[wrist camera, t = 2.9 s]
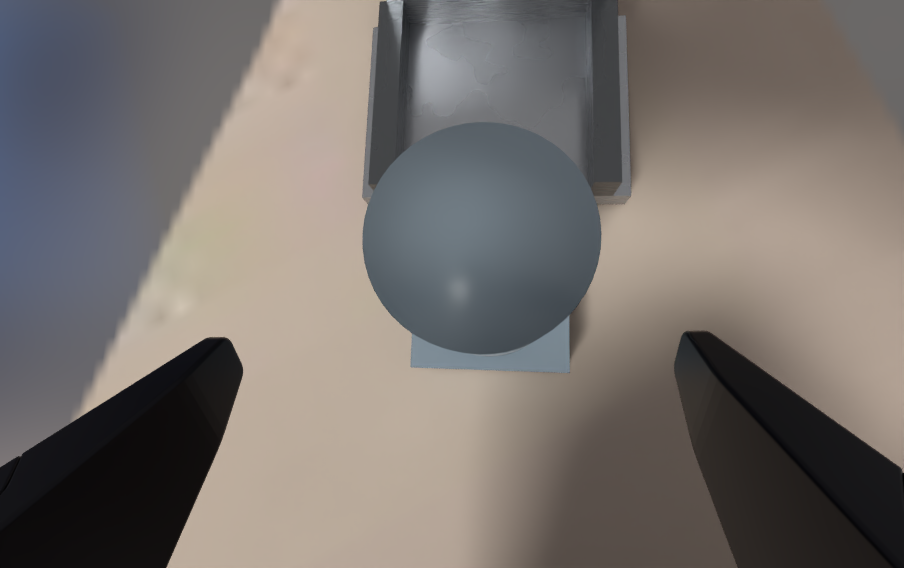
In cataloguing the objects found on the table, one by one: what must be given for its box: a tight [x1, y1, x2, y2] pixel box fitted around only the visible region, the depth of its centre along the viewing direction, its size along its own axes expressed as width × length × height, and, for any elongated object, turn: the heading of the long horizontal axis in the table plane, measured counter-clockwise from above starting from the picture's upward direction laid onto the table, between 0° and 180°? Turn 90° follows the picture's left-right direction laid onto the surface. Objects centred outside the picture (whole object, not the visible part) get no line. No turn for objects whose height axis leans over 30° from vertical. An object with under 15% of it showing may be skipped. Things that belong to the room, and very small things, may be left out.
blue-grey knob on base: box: [363, 122, 601, 373], centre depth 15 cm, size 6×6×10 cm
